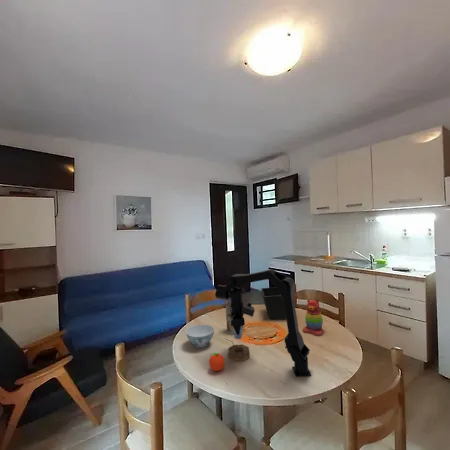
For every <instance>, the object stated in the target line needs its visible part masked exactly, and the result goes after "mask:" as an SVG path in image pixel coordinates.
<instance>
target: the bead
mask: <svg viewBox="0 0 450 450" xmlns="http://www.w3.org/2000/svg"><path fill="white" fill-rule="evenodd" d="M227 351H228V359H229V360H231V361H233V362H237V363H238V362H245V361H247V360H249V359H250V356H251V355H250V354H251V353H250V348H249V346H247V345H244V344H235V345H233V344H232V345H231V346H229V347H228V350H227Z"/></svg>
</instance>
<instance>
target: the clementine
mask: <svg viewBox="0 0 450 450" xmlns="http://www.w3.org/2000/svg"><path fill="white" fill-rule="evenodd" d="M209 356H210V357H209V361H208V365H209V367H210V369H211V370H212V371H215V372H220V371H222V370H223V368H224V367H225V364H226V362H225V358H224V356H223V354H220V353H217V352H213V353H211V354H210V355H209Z"/></svg>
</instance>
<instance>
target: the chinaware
mask: <svg viewBox="0 0 450 450" xmlns="http://www.w3.org/2000/svg"><path fill="white" fill-rule="evenodd" d="M214 333H215V328H214V327H213V326H212V325H209V324H196V325H193V326H190V327H188V328H187V329H186V331H185V334H186V338H187V339H188V341H189V342H190V343H191V344H192V345H194V347H195V346H197V347H196V348H198V347H201V348H205V347H207V345H208V343H210V342H211V341H212V338H213V337H214ZM204 346H205V347H204Z"/></svg>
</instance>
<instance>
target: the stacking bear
mask: <svg viewBox="0 0 450 450" xmlns="http://www.w3.org/2000/svg"><path fill="white" fill-rule="evenodd" d="M306 307H307V310H306V313H305V324H306V326H305V327H303V328H302V332H303V333H305V334H311V335H314V336H315V337H316V336H317V337H321V336H322V335H323V334H324V330H323V319H324V318H323V316H322V312H321V311H320V310H319V309H320V302H319V300H316V299H315V300H314V299H311V300H310V299H307V304H306Z"/></svg>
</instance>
